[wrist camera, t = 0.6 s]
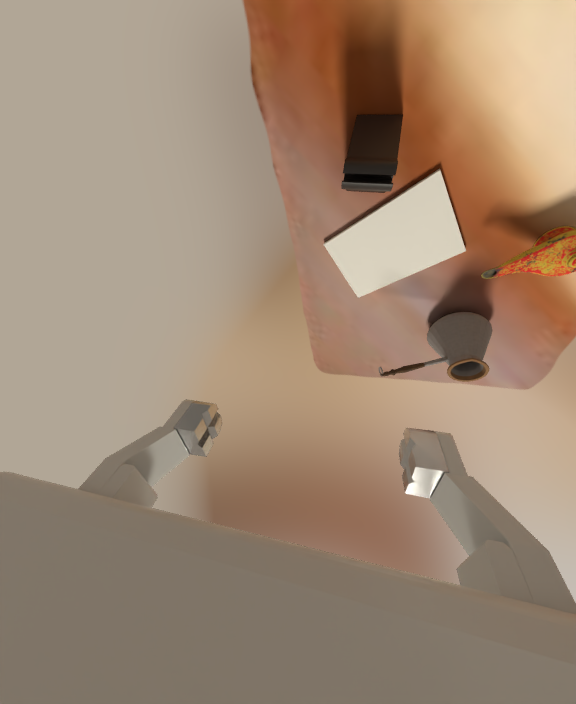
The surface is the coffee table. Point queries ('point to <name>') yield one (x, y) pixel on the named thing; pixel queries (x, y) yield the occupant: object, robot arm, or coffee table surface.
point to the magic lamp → (543, 256)
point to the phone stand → (373, 153)
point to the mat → (398, 237)
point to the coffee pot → (457, 346)
